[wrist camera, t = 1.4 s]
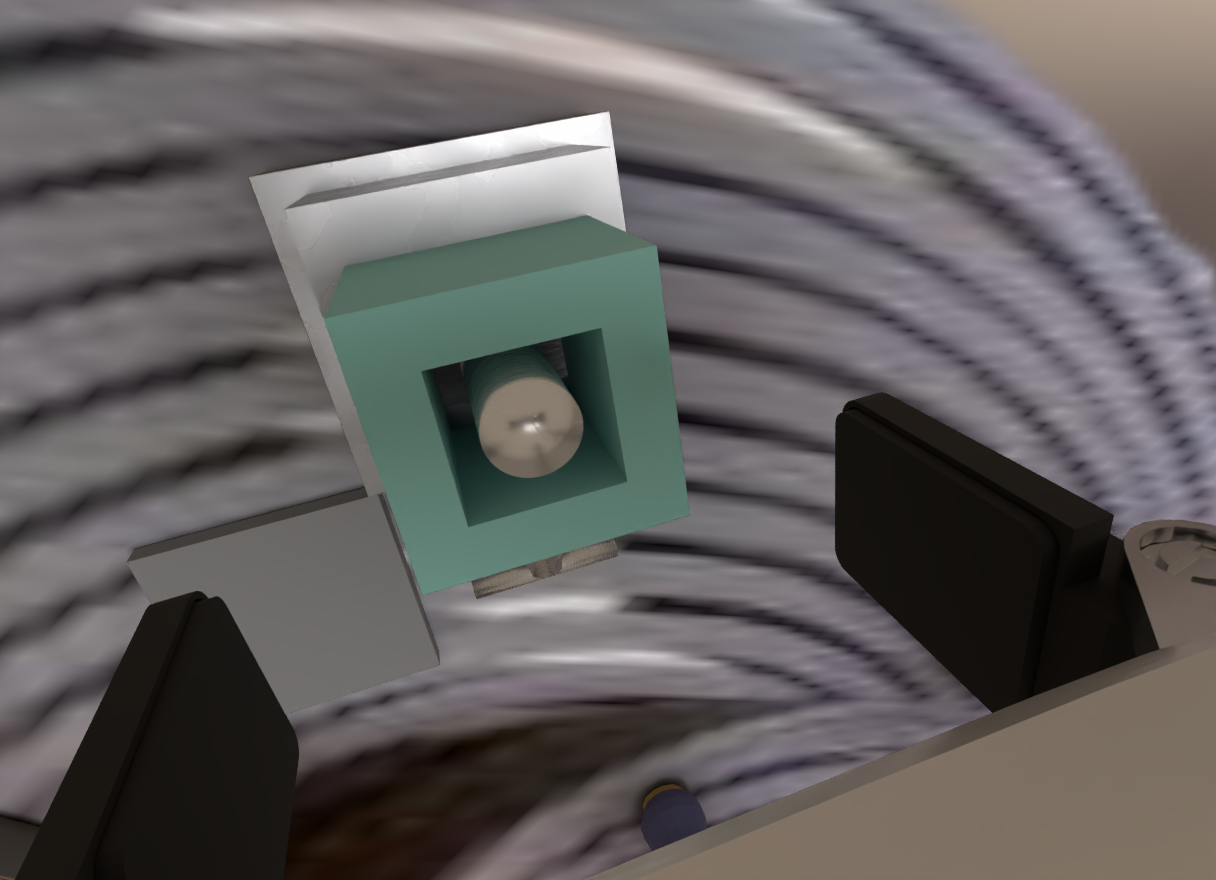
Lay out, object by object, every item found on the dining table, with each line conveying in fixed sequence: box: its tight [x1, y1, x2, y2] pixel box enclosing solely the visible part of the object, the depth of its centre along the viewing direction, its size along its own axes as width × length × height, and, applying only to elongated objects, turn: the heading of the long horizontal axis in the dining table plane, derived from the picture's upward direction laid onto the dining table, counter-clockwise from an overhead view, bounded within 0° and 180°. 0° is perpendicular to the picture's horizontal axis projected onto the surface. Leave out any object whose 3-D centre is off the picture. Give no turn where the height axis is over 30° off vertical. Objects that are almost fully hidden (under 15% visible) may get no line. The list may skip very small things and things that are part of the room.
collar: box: [324, 215, 690, 595], centre depth 18 cm, size 7×7×6 cm
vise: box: [249, 112, 626, 599], centre depth 23 cm, size 17×12×14 cm
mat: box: [126, 488, 440, 714], centre depth 31 cm, size 10×10×1 cm
